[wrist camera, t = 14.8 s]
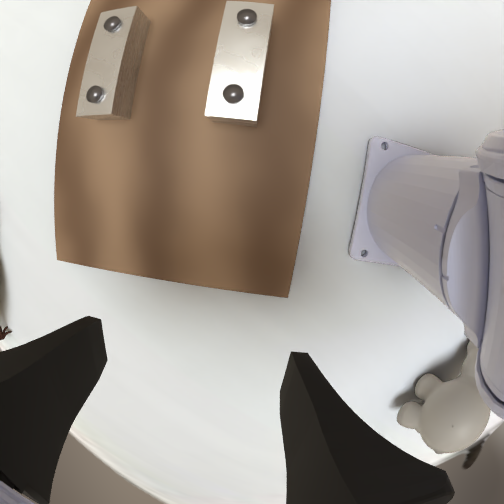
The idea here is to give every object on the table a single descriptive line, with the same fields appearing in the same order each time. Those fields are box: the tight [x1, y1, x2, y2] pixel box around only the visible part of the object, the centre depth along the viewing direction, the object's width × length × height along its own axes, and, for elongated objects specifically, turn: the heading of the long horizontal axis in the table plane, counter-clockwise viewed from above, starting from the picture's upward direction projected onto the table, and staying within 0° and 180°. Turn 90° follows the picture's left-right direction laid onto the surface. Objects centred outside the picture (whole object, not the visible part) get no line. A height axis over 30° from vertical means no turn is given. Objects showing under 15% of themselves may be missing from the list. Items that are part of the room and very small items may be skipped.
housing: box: [76, 1, 274, 127], centre depth 13 cm, size 10×7×3 cm
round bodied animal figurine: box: [397, 341, 490, 454], centre depth 18 cm, size 7×12×8 cm, turn 140°
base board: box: [54, 0, 331, 298], centre depth 14 cm, size 17×29×1 cm, turn 172°
